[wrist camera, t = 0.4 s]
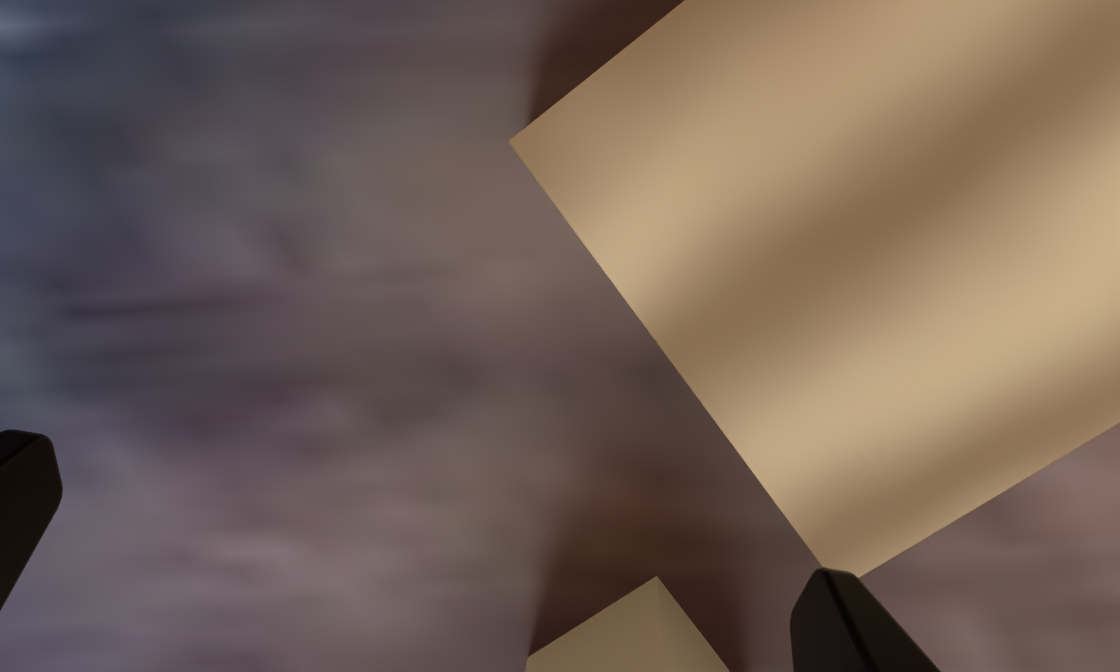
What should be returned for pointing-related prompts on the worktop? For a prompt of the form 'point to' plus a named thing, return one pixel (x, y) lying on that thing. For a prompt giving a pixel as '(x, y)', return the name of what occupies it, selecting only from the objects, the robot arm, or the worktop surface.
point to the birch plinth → (864, 241)
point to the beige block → (632, 639)
